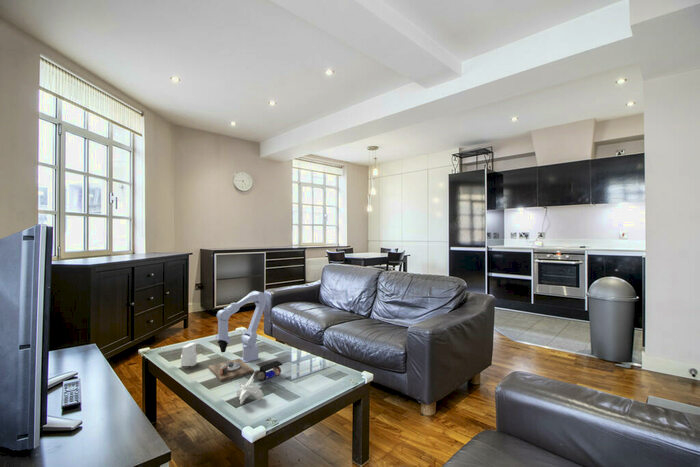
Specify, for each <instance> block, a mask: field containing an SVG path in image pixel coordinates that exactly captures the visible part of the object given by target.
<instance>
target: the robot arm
mask: <svg viewBox="0 0 700 467" xmlns="http://www.w3.org/2000/svg"><path fill="white" fill-rule="evenodd" d="M266 299H267V295H266V293H264V292H262V291H257V290H252V291H251V292H249V293H248V294H246V296H244V297H243V298H241V299H240V300H239V301H237V302H231V303H230V304H229V305H228V306H226V307H223V309H220V310H218V311H217V313H216V315H215V316H216V318H217V334H215V339H216V340H217V342H216V343H217V344H218V347H219V348H220V352H221V353H225V352H226V351H227V347H228V345H229V343H231V342H232V339H231V338H230V337H229V319H230V317H231V316H232V315H234V314H236V313H237V312H238V311H240V308H241V307H244V306H245V305H247V304H248V303H250V302H253V303H254V304H255V309H254V312H253V314H252V317H251V320H250V322H249V326H248V328H247V330H245V331H244V332H243V334H242V335H241V337H240V342H241V344H242V357H240V358H239V359H241V360H242V361H243V362H244V363H248V362H252V361H255V360H256V361H257V360H259V359H260V358H259V345H258V344H257V337H258V334H257V330H258V327H259V324H260V322H261V319H262V316H263V314H264V310H265V307H266Z"/></svg>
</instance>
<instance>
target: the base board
mask: <svg viewBox="0 0 700 467" xmlns="http://www.w3.org/2000/svg"><path fill="white" fill-rule="evenodd" d="M228 362H236V363H240V368H239V369H237V370H235V371H228V372H227V367H224V374H223V375H220V369H221V366H222V365H224V364H227V363H228ZM207 369H208V370H209V371H210V372H211V373H212V374H213V375H214V376H215V377H216V378H217V379H218V381H220V382H224V381H227V380H231V379H235V378H239V377H242V376H246V375H249V374H254V372H255V370H254V368H253V367H251V366H249V364H247V362H244V361H242V360H241V359H240V358H236V359H231V360H227V361H224V362H223V361H222V362H220V363H218V362H217V363H215V364H211V365H208V367H207Z"/></svg>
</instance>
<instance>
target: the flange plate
mask: <svg viewBox="0 0 700 467" xmlns="http://www.w3.org/2000/svg"><path fill="white" fill-rule="evenodd" d="M224 367H227V372H228V371H235V370H237V369H239V368H240V363H236V362H228V363H227V364H224V365H222V366H221V369H220V375H223V374H224Z"/></svg>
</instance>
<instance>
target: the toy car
mask: <svg viewBox="0 0 700 467" xmlns="http://www.w3.org/2000/svg"><path fill="white" fill-rule="evenodd" d="M280 366H283V363H281V361H278V360H274V361H272V362H269V363H266V364H264V365H262V366H261V365H260V366H259V369H255V370H254V372H253V374H254V377H255V378H258V381H260V382H261V383H263V382H264V381H266V380H267V379H269V378H273V377H274V376H275V377H278V376H280V375H281V373H282V369H281V367H280Z"/></svg>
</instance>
